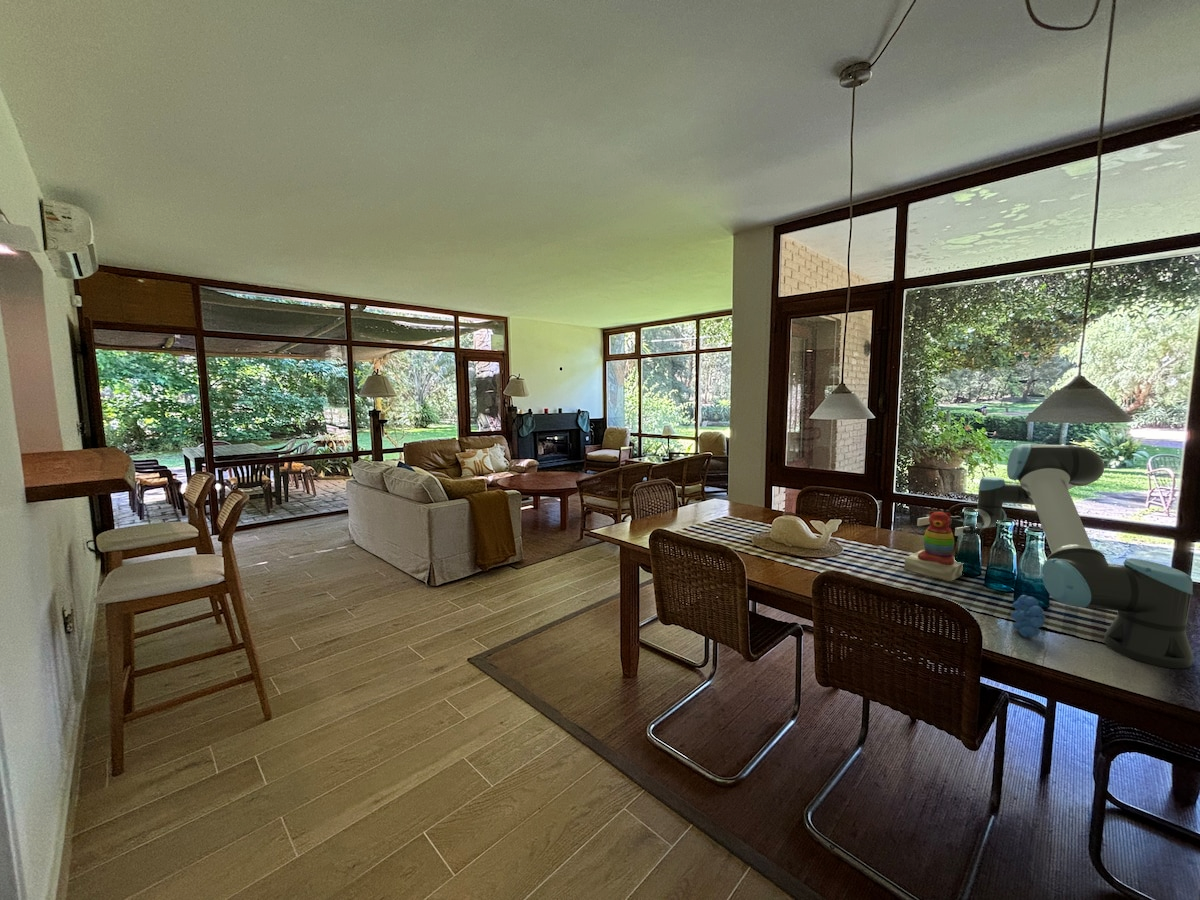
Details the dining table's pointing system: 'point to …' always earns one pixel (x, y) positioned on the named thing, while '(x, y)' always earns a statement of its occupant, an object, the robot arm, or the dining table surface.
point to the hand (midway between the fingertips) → (936, 527)
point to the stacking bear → (938, 539)
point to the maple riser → (933, 567)
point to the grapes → (1028, 616)
